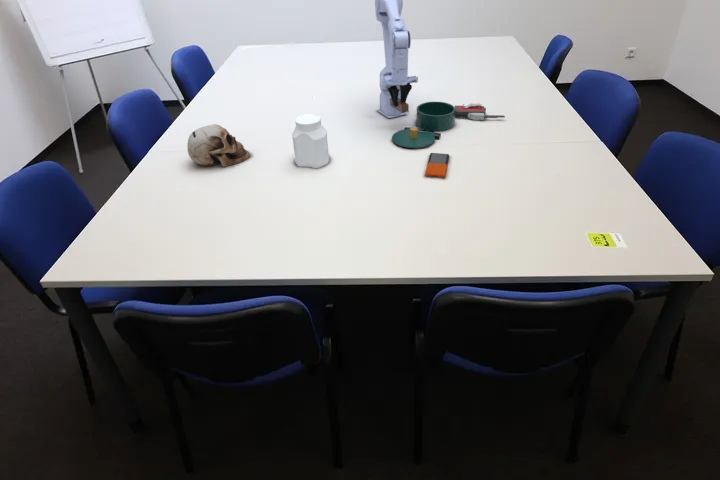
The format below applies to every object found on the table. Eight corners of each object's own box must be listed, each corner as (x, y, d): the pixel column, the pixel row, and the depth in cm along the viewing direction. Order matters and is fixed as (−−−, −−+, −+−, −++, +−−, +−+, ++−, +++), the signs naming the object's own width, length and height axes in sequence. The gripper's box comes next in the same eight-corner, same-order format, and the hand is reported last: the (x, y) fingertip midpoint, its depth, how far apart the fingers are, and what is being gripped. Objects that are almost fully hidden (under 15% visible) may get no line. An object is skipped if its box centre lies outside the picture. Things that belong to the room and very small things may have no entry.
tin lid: (384, 137, 174) (384, 126, 171) (419, 127, 179) (420, 117, 177) (406, 153, 163) (406, 142, 160) (443, 143, 168) (444, 132, 166)
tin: (409, 121, 185) (409, 106, 181) (439, 113, 190) (440, 98, 186) (429, 134, 175) (430, 119, 171) (461, 126, 180) (463, 110, 176)
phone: (424, 173, 149) (430, 152, 160) (424, 177, 150) (429, 155, 161) (445, 175, 148) (449, 153, 159) (445, 178, 148) (449, 156, 160)
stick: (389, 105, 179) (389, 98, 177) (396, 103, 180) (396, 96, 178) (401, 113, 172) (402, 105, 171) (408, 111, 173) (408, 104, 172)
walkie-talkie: (451, 120, 184) (504, 121, 182) (452, 109, 181) (506, 110, 179) (451, 111, 191) (501, 112, 189) (452, 101, 188) (503, 101, 186)
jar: (291, 165, 158) (285, 123, 149) (301, 153, 166) (296, 112, 157) (323, 169, 156) (320, 126, 147) (332, 155, 163) (329, 114, 154)
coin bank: (254, 154, 165) (243, 119, 157) (218, 180, 156) (204, 144, 147) (224, 145, 173) (212, 112, 165) (188, 169, 163) (173, 135, 155)
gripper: (387, 74, 162) (387, 112, 170) (423, 67, 166) (421, 104, 175) (377, 68, 167) (377, 105, 175) (412, 61, 172) (411, 98, 180)
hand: (399, 104), depth 175 cm, fingers closed on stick, 3 cm apart
